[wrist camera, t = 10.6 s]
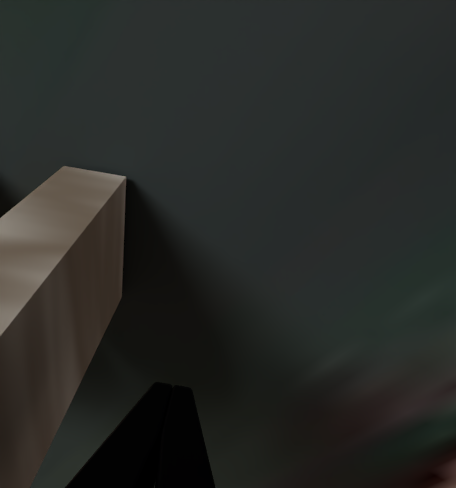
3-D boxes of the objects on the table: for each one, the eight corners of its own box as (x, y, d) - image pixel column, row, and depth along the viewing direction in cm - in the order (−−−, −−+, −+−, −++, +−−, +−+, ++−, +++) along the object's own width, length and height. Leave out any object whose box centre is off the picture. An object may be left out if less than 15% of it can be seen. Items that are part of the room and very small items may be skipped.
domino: (126, 176, 14) (-60, 411, 6) (121, 296, 16) (-15, 578, 8) (61, 165, 14) (-211, 385, 6) (66, 287, 16) (-122, 560, 8)
